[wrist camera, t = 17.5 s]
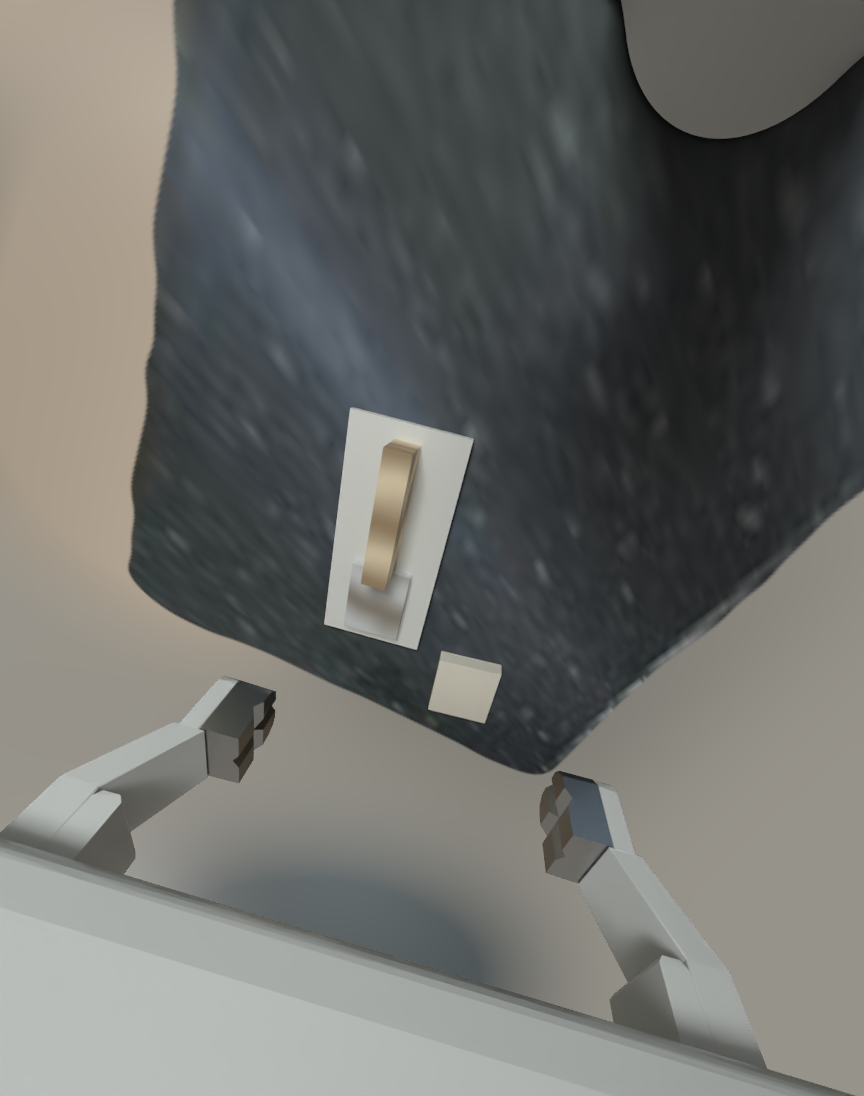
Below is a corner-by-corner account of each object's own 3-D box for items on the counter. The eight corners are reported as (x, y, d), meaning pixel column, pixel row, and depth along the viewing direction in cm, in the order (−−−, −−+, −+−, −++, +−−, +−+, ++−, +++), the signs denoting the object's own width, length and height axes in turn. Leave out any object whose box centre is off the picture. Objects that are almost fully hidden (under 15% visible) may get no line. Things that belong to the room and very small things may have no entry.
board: (353, 407, 33) (350, 408, 33) (473, 438, 33) (473, 440, 32) (326, 620, 44) (324, 624, 43) (417, 645, 44) (416, 650, 43)
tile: (439, 660, 42) (427, 709, 46) (501, 675, 42) (484, 723, 46) (441, 648, 44) (430, 696, 48) (501, 662, 44) (484, 710, 47)
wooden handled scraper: (375, 433, 33) (361, 441, 30) (441, 450, 33) (434, 460, 30) (346, 620, 43) (333, 643, 39) (397, 634, 43) (389, 658, 39)
